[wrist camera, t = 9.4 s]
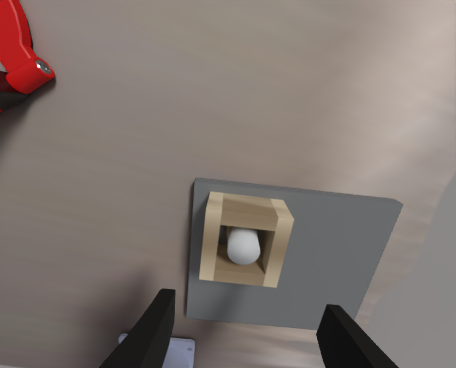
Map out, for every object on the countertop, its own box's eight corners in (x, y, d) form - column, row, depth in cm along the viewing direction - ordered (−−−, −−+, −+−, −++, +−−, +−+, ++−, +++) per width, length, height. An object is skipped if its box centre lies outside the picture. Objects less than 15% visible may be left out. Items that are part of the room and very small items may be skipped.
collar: (269, 259, 18) (276, 287, 15) (204, 252, 18) (199, 279, 15) (283, 200, 16) (294, 219, 14) (210, 191, 16) (205, 208, 13)
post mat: (343, 323, 22) (367, 367, 18) (188, 309, 22) (179, 351, 18) (394, 199, 17) (439, 224, 14) (196, 177, 17) (186, 197, 13)
